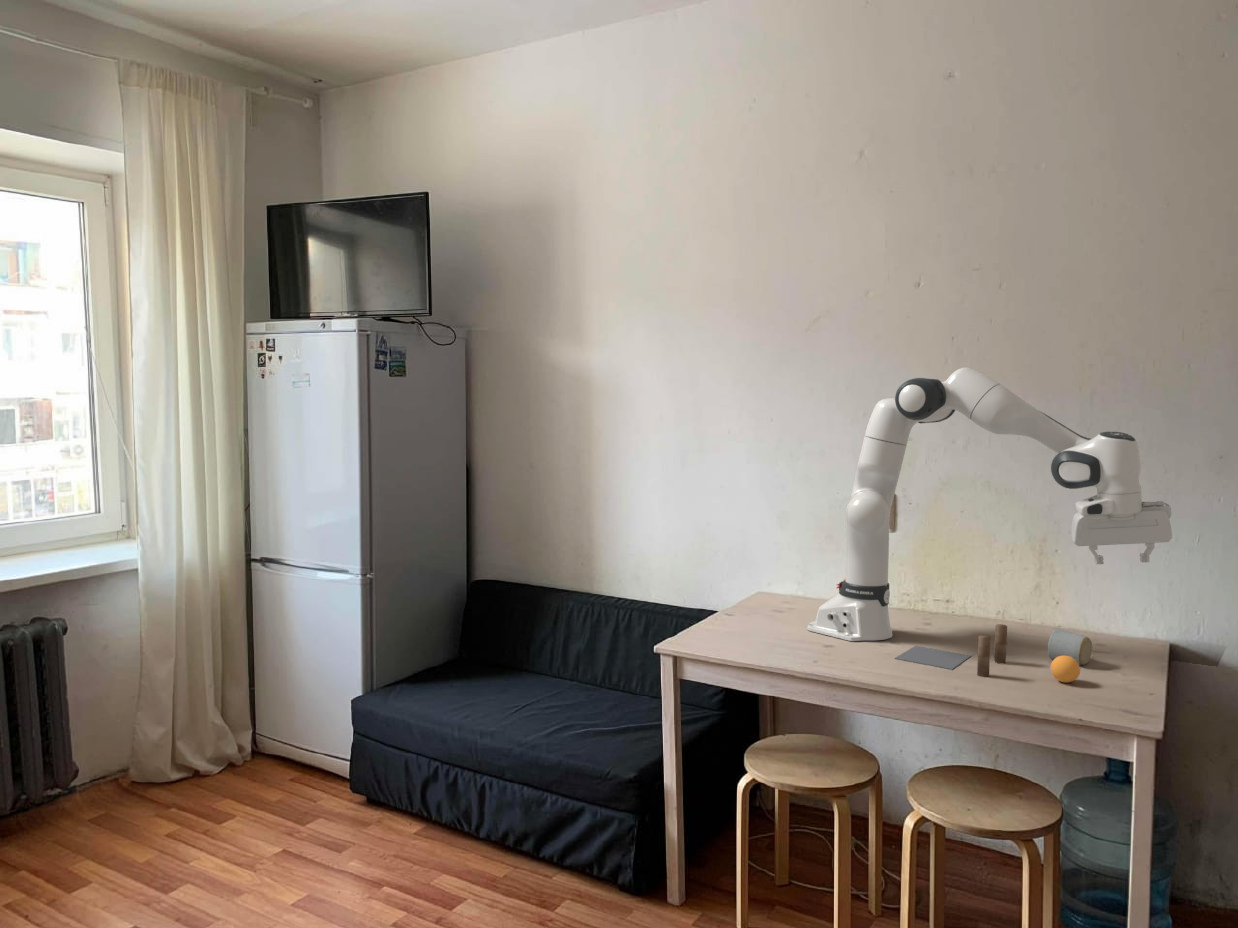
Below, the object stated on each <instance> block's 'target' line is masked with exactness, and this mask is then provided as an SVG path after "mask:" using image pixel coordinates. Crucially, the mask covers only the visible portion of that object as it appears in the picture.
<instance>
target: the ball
mask: <svg viewBox="0 0 1238 928" xmlns="http://www.w3.org/2000/svg"><path fill="white" fill-rule="evenodd" d="M1050 672H1051V674H1052V676H1053V677H1054V678H1055V679H1056V680H1057V681H1059V682H1061V683H1072V682H1075V681H1076V680H1077V679H1078V678H1079V676H1080V673H1081V668H1080V665H1079V664H1078V662H1077V661H1076V660H1075V659H1074V658H1072V657H1070V656H1065V655H1063V656H1059V657H1057V658H1055V659H1054V660H1052V661H1051V663H1050Z"/></svg>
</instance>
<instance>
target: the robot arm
mask: <svg viewBox="0 0 1238 928" xmlns="http://www.w3.org/2000/svg"><path fill="white" fill-rule="evenodd" d="M956 411H957V412H959V413H961V414H962V415H964V416H965V417H967V418H968V419H970V420H971V421H972V422H973V423H974V424H976V425H977V426H979V427H980V428H982V429H984V430H986V431H988V432H990V433H992V434H995V435H1011V436H1012V435H1013V436H1023V437H1027V438H1031V439H1034V440H1036V441H1037V442H1039V443H1041V444H1042V445H1044V446H1045V447H1047V448H1049V449H1050V450H1052V451H1054V452H1055V453H1057V454H1056V455H1055V456H1054V458H1053V459H1052V461H1051V464H1050V471H1051V476H1052V477H1053V479H1054V481H1055V482H1056V483H1057V484H1058V485H1059V486H1061V487H1062V488H1065V489H1070V490H1072V489H1073V490H1078V489H1083V488H1090V487H1095V489H1096V494H1095V495H1093V496H1090V497H1088V498H1085V499H1084V498H1083V499H1082V500H1078V501H1076V502H1075V506H1074V507H1075V509H1076V511H1077V512H1076V513H1075V514H1073V517H1072V520H1071V521H1072V522H1071V528H1070V529H1071V530H1070V538H1071V541H1072V543H1073V544H1074V545H1075V546H1077V547H1088V550H1089V551H1090V552H1091V553H1092V554H1093V556H1094V564H1095V565H1104V562H1105V561H1104V556H1103V555H1101V554H1098V553H1097V551H1098V548H1099V547H1098V546H1111V545H1112V546H1113V545H1114V546H1115V545H1135V544H1137V545H1138V544H1144V546H1145V547H1146V548H1145V550H1144V552H1142V553H1139V557H1140V558H1139V560H1140V563H1150V555H1151V554H1152V552H1153V551H1154V549H1155V544H1157V543H1170V541H1171V539H1172V538H1173V531H1172V526H1171V520H1170V519H1171V516H1172V507H1171V506H1170V505H1169V503H1167V502H1164V501H1163V500H1158V501H1142V497H1143V496H1142V487H1141V484H1140V474H1141V471H1142V469H1141V459H1140V452H1139V451H1140V450H1139V446H1138V442H1137V440H1136V438H1134V436H1133V435H1130V434H1128V433H1126V432H1121V431H1102V432H1099V433H1098V434H1097V435H1095V436H1094V437H1093V438H1090V437H1086V436H1083V435H1081V434H1079V433H1077V432H1075V431H1074V430H1072V429H1070V428H1069V427H1067V426H1065V425H1064V424H1063V423H1061V422H1059V421H1057V419H1054V418H1052V417H1051V416H1049V415H1048V414H1045V412H1042V411H1040V410H1039V409H1037V408H1036V407H1034V406H1033V405H1032V404H1029V402H1027V401H1026V400H1025V399H1022V397H1019V396H1018V395H1017V394H1015V393H1014V392H1012V391H1011V390H1010V389H1009V388H1007V387H1006V386H1004V385H1003V384H1001V383H1000V382H998V381H997V380H995V379H994V378H993V377H992V378H991V377H990V376H988V375H987V374H984V373H982V372H980V371H978V370H976V369H973V368H971V367H966V366H965V367H959V368H958V369H957V370H955V371H954V372H952V373H951V374H950V375H949V376H948V378H947V379H946V380H944V381H941V380H939V379H937V378H927V377H926V378H925V377H915V378H911V379H908V380H906V381H904V382H903V383H902V384H901V385H899V387H897V390H896V392H895V397H893V398H892V397H888V398H887V397H886V398H883V399H880V400H879V401H878V402H876V404H875V405H874V407H873V410H872V412H871V414H870V417H869V420H868V422H867V426H866V429H865V432H864V436H863V440H862V445H861V449H860V453H859V457H858V462H857V466H856V471H855V475H854V480H853V483H852V489H851V494H850V496H849V497H850V499H849V501H848V504H847V505H846V508H845V509H846V510H845V579H843V580H841V581H840V582H839V583H837V584H836V588H835V589H838V593H837V594H835V595H834V596H832V597H831V598H830V599H828V600H826V602H823V603H822V604H821V605H820V606H819V608H818V609H817V612H816V613H817V614H816V616H815V620H813V621H811V622H809V623H808V624H807V628H806V629H807V631H809V632H813V633H817V634H821V635H826V636H829V637H834V638H837V639H842V640H845V641H849V642H860V641H861V642H862V641H883V640H888V639H891V638H892V637H893V631H892V626H891V621H890V615H889V614H890V613H889V603H890V593H891V592H890V583H889V559H890V557H889V555H890V553H889V552H890V551H889V550H890V548H889V547H890V545H889V544H890V542H889V541H890V515H891V511H892V506H893V501H894V497H895V495H896V494H895V493H896V490H897V486H898V483H899V479H900V473H901V470H902V466H903V461H904V458H905V455H906V450H907V445H908V442H909V437H910V433H911V430H912V428H913V427H914V426H915V425H916V424H929V423H933V424H934V423H940V422H944V421H945V420H948V419H949V418H951V417H952V416H953V415H954V413H955V412H956Z"/></svg>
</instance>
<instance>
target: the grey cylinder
mask: <svg viewBox="0 0 1238 928" xmlns="http://www.w3.org/2000/svg"><path fill="white" fill-rule="evenodd" d="M1092 652H1093V643H1092V640H1091V639H1090V637H1088V636H1086V635H1084V634H1079V633H1077V632H1076V633H1075V632H1072V631H1069V630H1064V629H1061V628H1058V627H1057V628H1055V629H1054V630H1053V629H1052V632H1051V633H1050V636H1049V638H1048V644H1047V655H1048V656H1047V657H1048V658H1049V659H1051V660H1052V661H1053V660H1054V659H1055V658H1057V657H1059V656H1063V655H1065V656H1070V657H1072V658H1074V659H1075V660H1076V661H1077V662H1078V664H1079V666H1085V665H1086V664H1087V663H1089V661H1090V659H1091V657H1092Z"/></svg>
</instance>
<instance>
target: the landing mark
mask: <svg viewBox="0 0 1238 928" xmlns="http://www.w3.org/2000/svg"><path fill="white" fill-rule="evenodd" d="M970 656H971V657H972V655H971V654H965V653H964V654H963V653H960V652H954V651H948V650H941V649H937V648H930V647H925V646H921V645H920V646H919V645H914V646H912V647H911V648H909V649H907V650H906V651H904V652H903V653H901V654H899V655H898V656H896V657H894V660H899V661H903V662H910V663H915V664H921V665H925V666H931V667H934V668H935V667H936V668H940V669H947V670H954V669H955V668H957V667H958V666H959V664H960V665H961V664H962V663H964V662H965V661H967V660H968V659H970V658H971V657H970ZM969 657H970V658H969ZM966 659H967V660H966ZM963 661H964V662H963Z"/></svg>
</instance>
